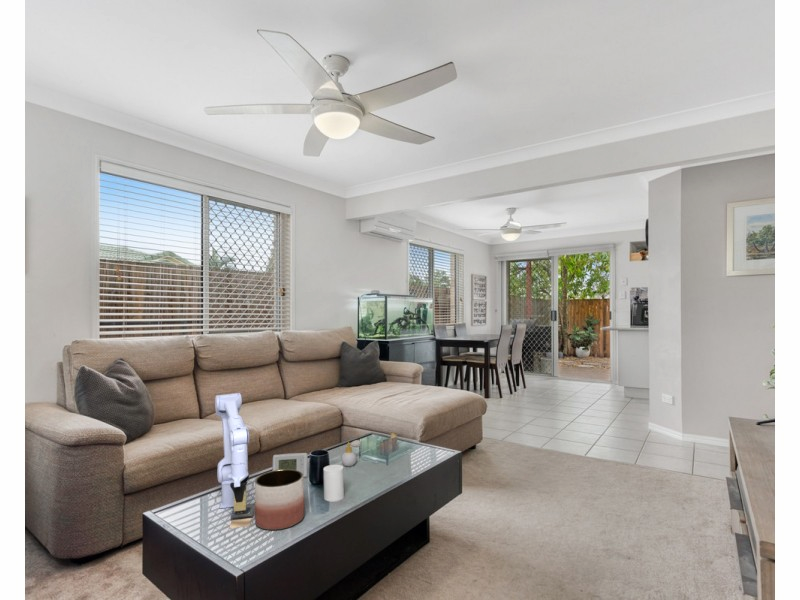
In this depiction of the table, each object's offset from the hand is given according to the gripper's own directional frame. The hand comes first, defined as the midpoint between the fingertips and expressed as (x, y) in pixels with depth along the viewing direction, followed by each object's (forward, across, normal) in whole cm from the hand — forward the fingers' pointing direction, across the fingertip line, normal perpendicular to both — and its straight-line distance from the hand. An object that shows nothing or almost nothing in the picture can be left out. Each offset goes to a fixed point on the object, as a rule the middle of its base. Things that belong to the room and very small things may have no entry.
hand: (240, 499), depth 162 cm
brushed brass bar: (+3, 0, 0) cm, 3 cm away
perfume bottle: (+9, -50, +46) cm, 68 cm away
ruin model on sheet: (+10, -63, +68) cm, 93 cm away
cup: (+9, -14, +35) cm, 39 cm away
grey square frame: (+9, -8, 0) cm, 12 cm away
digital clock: (+9, -41, +17) cm, 46 cm away
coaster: (+9, 0, 0) cm, 9 cm away
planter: (+9, +1, +14) cm, 17 cm away
